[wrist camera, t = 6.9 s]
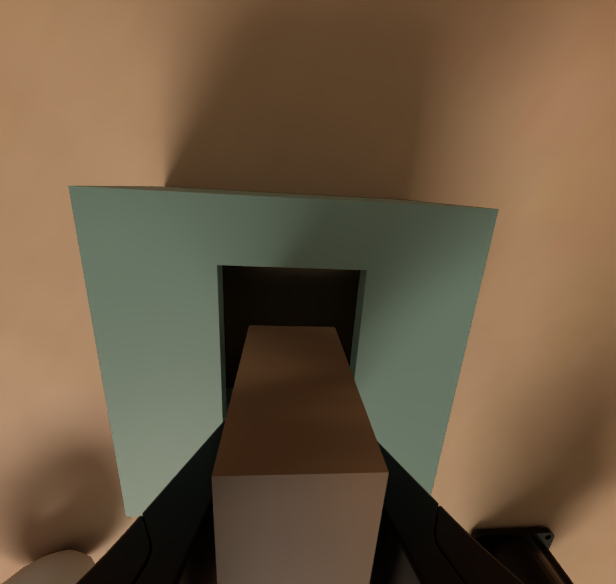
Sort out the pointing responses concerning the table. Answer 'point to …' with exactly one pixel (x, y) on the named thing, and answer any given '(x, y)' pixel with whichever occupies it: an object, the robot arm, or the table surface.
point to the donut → (54, 569)
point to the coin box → (270, 253)
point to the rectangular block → (296, 466)
